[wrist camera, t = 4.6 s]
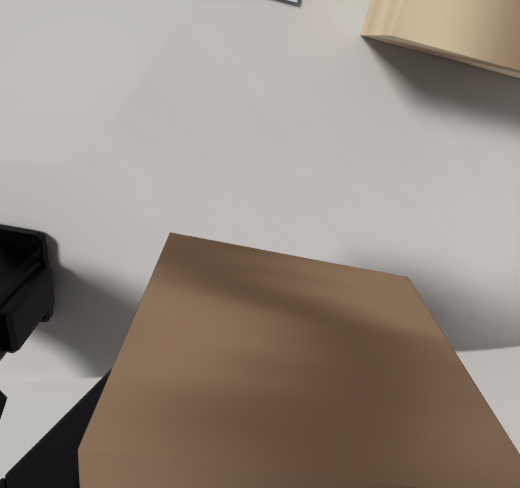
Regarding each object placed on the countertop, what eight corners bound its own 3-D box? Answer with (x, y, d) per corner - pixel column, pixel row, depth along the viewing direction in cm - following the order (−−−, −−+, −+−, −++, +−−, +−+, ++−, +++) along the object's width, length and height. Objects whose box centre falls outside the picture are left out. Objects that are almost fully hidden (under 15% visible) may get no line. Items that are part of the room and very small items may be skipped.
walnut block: (151, 394, 11) (86, 620, 7) (170, 232, 8) (77, 449, 4) (331, 418, 12) (374, 634, 8) (408, 277, 9) (549, 501, 5)
